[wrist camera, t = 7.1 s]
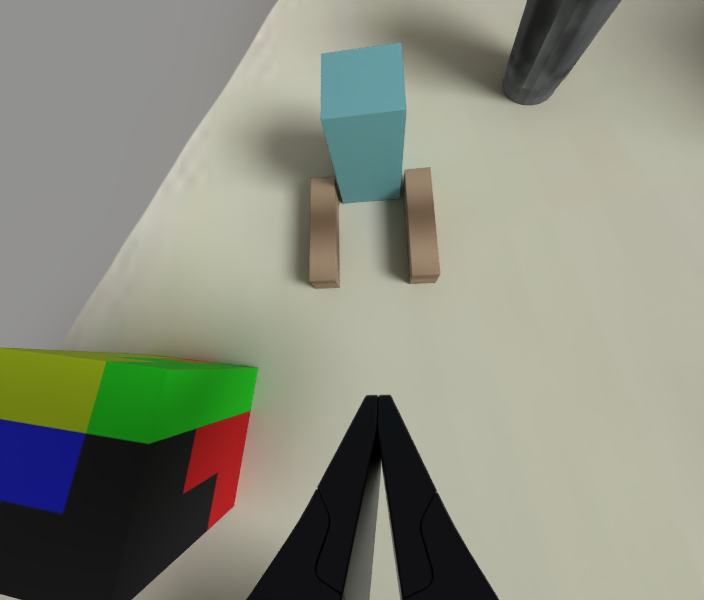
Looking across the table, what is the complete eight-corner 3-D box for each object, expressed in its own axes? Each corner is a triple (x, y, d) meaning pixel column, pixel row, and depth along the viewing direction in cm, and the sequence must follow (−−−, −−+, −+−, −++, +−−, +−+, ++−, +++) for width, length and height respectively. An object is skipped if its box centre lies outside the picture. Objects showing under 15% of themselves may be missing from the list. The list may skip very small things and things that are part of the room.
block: (399, 198, 25) (406, 109, 16) (343, 203, 26) (320, 119, 17) (396, 149, 26) (401, 42, 18) (342, 155, 27) (321, 53, 18)
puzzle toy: (116, 483, 23) (-87, 570, 13) (149, 354, 25) (-4, 347, 15) (234, 505, 21) (106, 622, 12) (258, 367, 23) (167, 368, 14)
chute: (435, 282, 23) (440, 274, 21) (316, 288, 24) (309, 281, 22) (426, 184, 25) (430, 167, 23) (317, 193, 26) (310, 178, 24)
